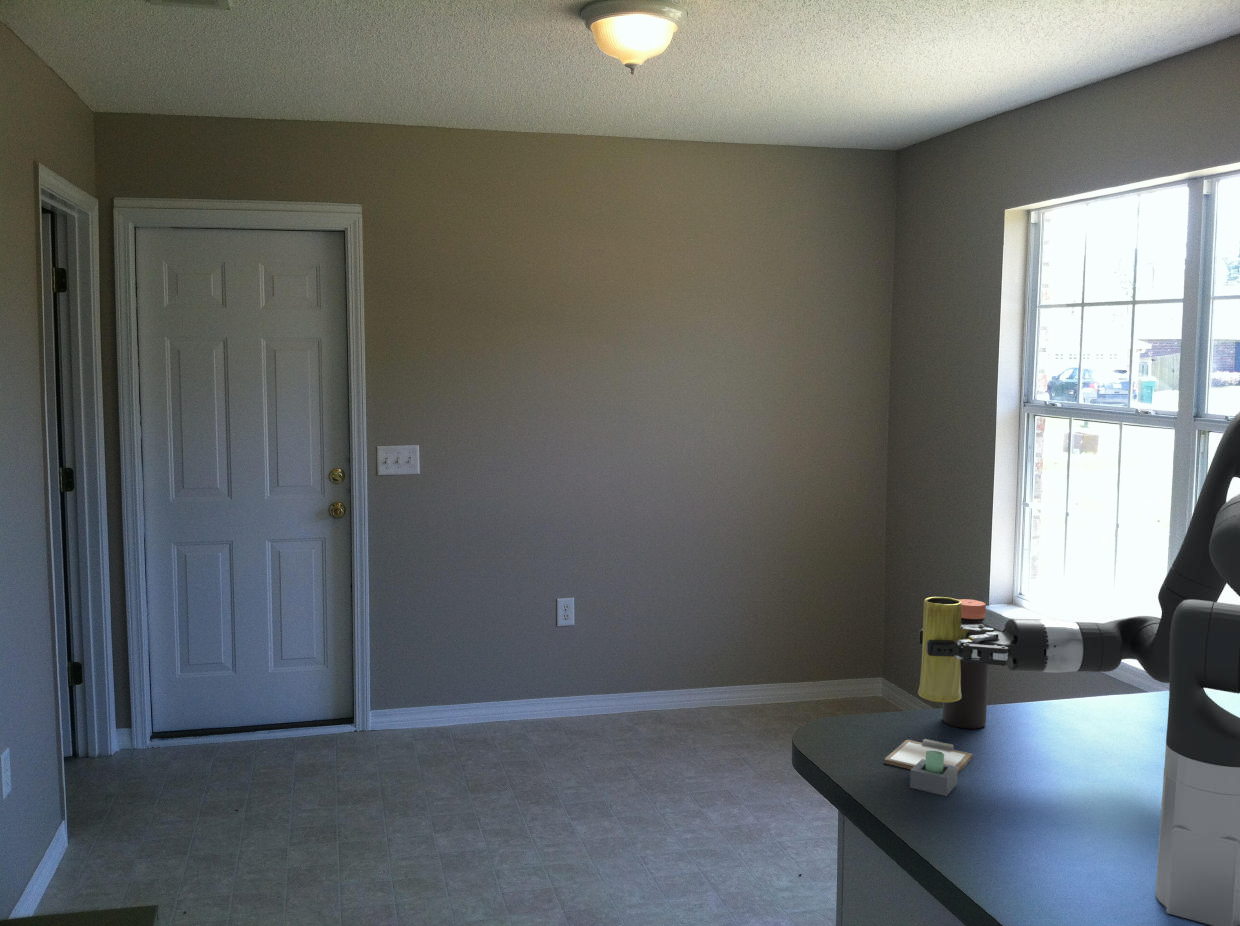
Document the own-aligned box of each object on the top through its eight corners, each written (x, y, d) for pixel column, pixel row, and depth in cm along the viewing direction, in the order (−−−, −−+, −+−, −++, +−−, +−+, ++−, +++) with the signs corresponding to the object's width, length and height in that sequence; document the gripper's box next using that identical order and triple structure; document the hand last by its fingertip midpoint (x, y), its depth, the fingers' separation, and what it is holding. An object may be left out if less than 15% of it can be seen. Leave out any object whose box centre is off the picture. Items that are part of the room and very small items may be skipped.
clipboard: (952, 779, 147) (953, 769, 147) (884, 763, 153) (884, 753, 152) (972, 757, 155) (973, 748, 155) (906, 743, 161) (907, 734, 161)
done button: (940, 780, 143) (941, 758, 142) (922, 776, 144) (923, 754, 144) (945, 775, 145) (946, 752, 144) (928, 771, 146) (929, 749, 146)
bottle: (933, 720, 171) (939, 601, 169) (957, 712, 176) (963, 595, 174) (970, 732, 166) (976, 609, 164) (994, 724, 170) (1000, 603, 168)
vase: (913, 698, 152) (916, 602, 151) (923, 687, 157) (926, 594, 156) (956, 705, 149) (960, 607, 148) (965, 693, 154) (968, 598, 153)
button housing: (946, 796, 141) (947, 778, 141) (909, 787, 144) (910, 769, 144) (956, 784, 145) (957, 766, 145) (921, 775, 148) (922, 758, 148)
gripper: (1028, 608, 158) (914, 605, 159) (1060, 632, 144) (934, 629, 145) (1026, 657, 159) (912, 653, 160) (1057, 686, 144) (932, 682, 146)
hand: (923, 642), depth 153 cm, fingers closed on vase, 5 cm apart
